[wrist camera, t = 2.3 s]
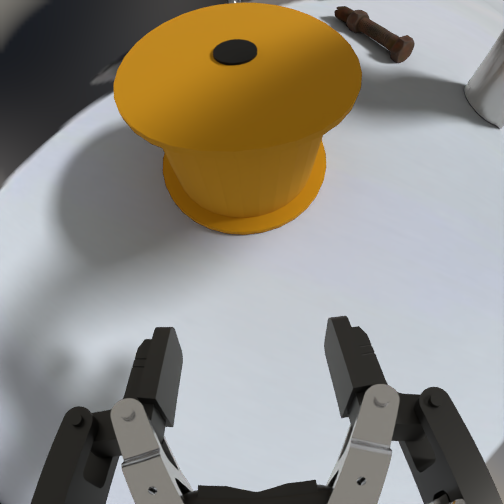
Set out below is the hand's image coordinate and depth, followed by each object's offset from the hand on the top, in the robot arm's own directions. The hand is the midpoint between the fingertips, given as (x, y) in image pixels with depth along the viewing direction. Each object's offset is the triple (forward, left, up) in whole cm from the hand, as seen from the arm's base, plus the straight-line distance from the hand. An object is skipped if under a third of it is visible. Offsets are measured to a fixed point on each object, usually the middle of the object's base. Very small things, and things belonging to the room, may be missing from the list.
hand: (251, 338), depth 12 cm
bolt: (+11, -49, -16) cm, 53 cm away
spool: (+12, -14, -16) cm, 24 cm away
